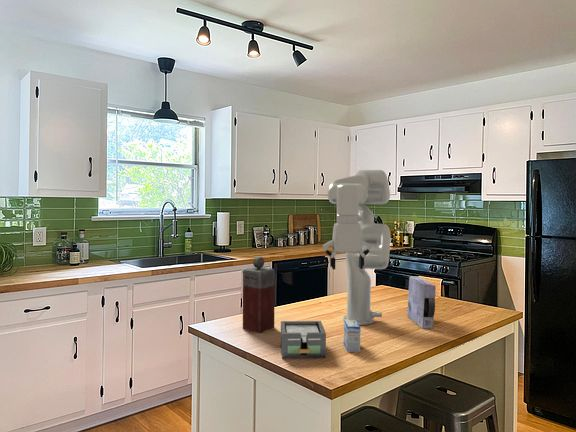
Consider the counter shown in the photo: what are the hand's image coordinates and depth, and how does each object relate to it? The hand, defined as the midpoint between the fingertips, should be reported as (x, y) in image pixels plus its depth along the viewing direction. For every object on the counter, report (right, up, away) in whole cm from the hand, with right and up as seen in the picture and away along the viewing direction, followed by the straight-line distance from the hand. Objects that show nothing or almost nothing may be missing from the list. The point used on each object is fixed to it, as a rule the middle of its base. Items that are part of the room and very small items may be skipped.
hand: (347, 268), depth 155 cm
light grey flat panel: (-16, -21, -9) cm, 28 cm away
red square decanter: (-33, -26, +18) cm, 46 cm away
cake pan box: (+34, -26, +26) cm, 50 cm away
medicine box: (+1, -27, -4) cm, 27 cm away
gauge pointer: (-16, -25, -15) cm, 33 cm away
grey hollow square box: (-16, -27, -7) cm, 32 cm away
